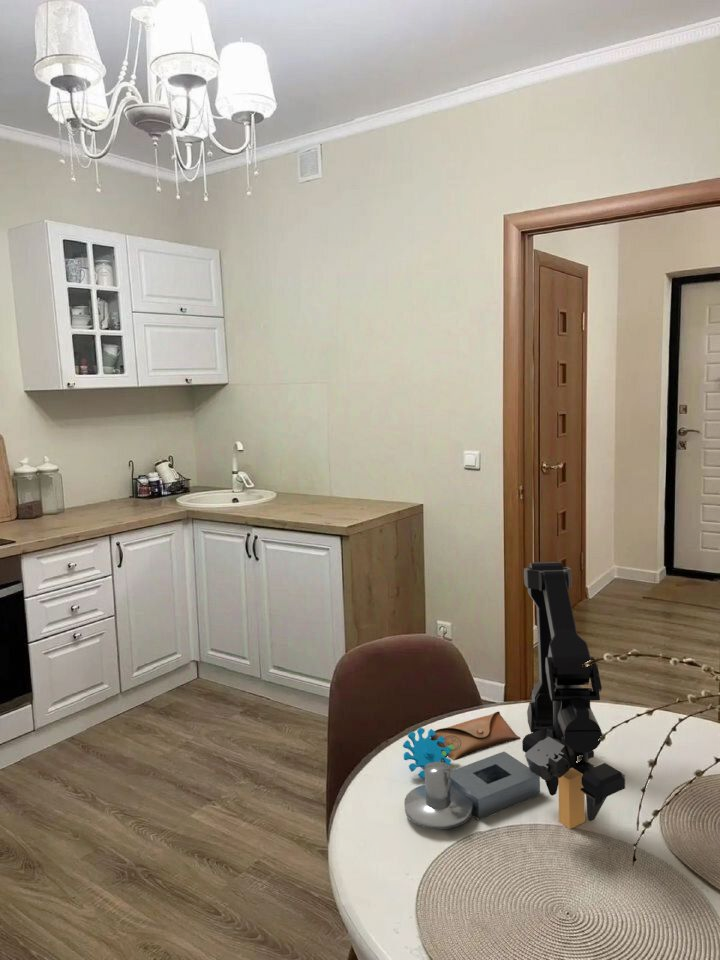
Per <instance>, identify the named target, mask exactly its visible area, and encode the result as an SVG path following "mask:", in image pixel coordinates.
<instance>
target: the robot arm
mask: <svg viewBox="0 0 720 960" xmlns="http://www.w3.org/2000/svg"><path fill="white" fill-rule="evenodd" d="M523 581H524V583H523V584H524V586H525V588H527V593H528V595H529V596H530V598H531V599H532V601H533V603H534V605H535V607H536V626H537V630H536V631H537V649H538V650H537V652H538V655H537V656H538V675H539V677H538V680H537V682H536V684H535V685H534V687H533V689H532V691H531V702H530V701H529V703H528V707H527V711H526V715H527V725H528V727H529V730H530V731H529V732H530V733H527V734H526V735H525V736H524V737H523V739H522V741H521V742H522V744H521V745H522V752H523V753H524V757H525V760H526V762H527V765H528V767H529V768H530V770H531V772H533V773H535V774H537V775H538V776H540V779H542V780H543V781H544V782H545V784H546V787H547V790H548V792H549V795H550V796H554V795H556V794H557V791H558V789H559V782H558V778H560V777H562V776H563V775H564V774H565V773H566V772H567V771H569V769H570V768H574V769H575V770H577V771H579V772H580V773H582V774H583V776H582V785H583V787H584V788H582V789H580V790H581V791H582V792H583V793H584V795H585V796H586V797H585V798H586V799H585V801H586V814H587V819H588V822H592V821H595V819H596V817H597V815H598V813H599V812H600V810H601V808H602V806H603V805H604V803H605V801H606V799H607V798H608V797H609V796H611V795H614V794H615V793H616V794H617V793H618V792H620V791H621V792H622V790H624V789H626V775H625V774H624V773H623V772H621V770H618V769H617V768H614V767H613V766H612V765H609V764H608V763H606V762H604V763H601V764H599V765H594V764H593V763H591V762H589V759H590V760H591V759H592V758H595V751H594V750H596V749H597V748H598V747H599V745H601V742H602V741H603V740H602V739H601V740H599V741H598V739H599V738H600V736H602V737H603V732H602V729H601V727H600V725H599V723H598V720H597V718H596V716H595V714H594V712H593V710H592V707H591V701H600V700H601V696H600V692H602V683H601V676H600V673H599V672H600V671H599V667H598V666H599V665H598V663H597V662H596V663H594V664H592V665H590V666H588V667H582V664H584V663H585V662H587V661H589V660H595V661H596V658H595V657H594V656H591V653H590V650H589V645H588V643H587V642H586V640H584V639H583V638H582V637H581V636H580V635H578V631H577V627H576V621H575V616H574V612H573V606H572V603H571V598H570V593H569V589H570V588H573V584H572V582H573V581H572V568H570V567H568V566H564V565H563V561H537V562H535V561H534V562H529V567H524V568H523ZM584 666H585V665H584ZM589 684H590V685H591V687H581V686H588V685H589ZM579 755H583V757H582V760H581V761H580V762H578V763H576V761H577V756H579Z"/></svg>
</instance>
